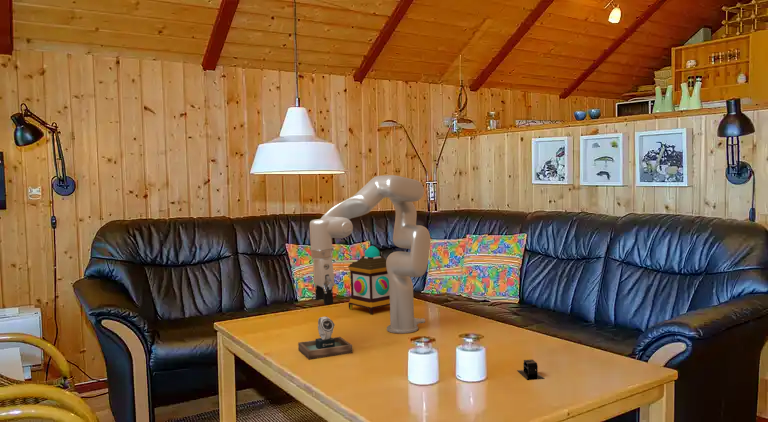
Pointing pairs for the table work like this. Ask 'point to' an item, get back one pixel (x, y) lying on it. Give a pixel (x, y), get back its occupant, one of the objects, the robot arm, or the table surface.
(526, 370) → the black block
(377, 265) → the decorative lantern
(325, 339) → the watch
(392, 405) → the table surface
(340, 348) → the watch tray
